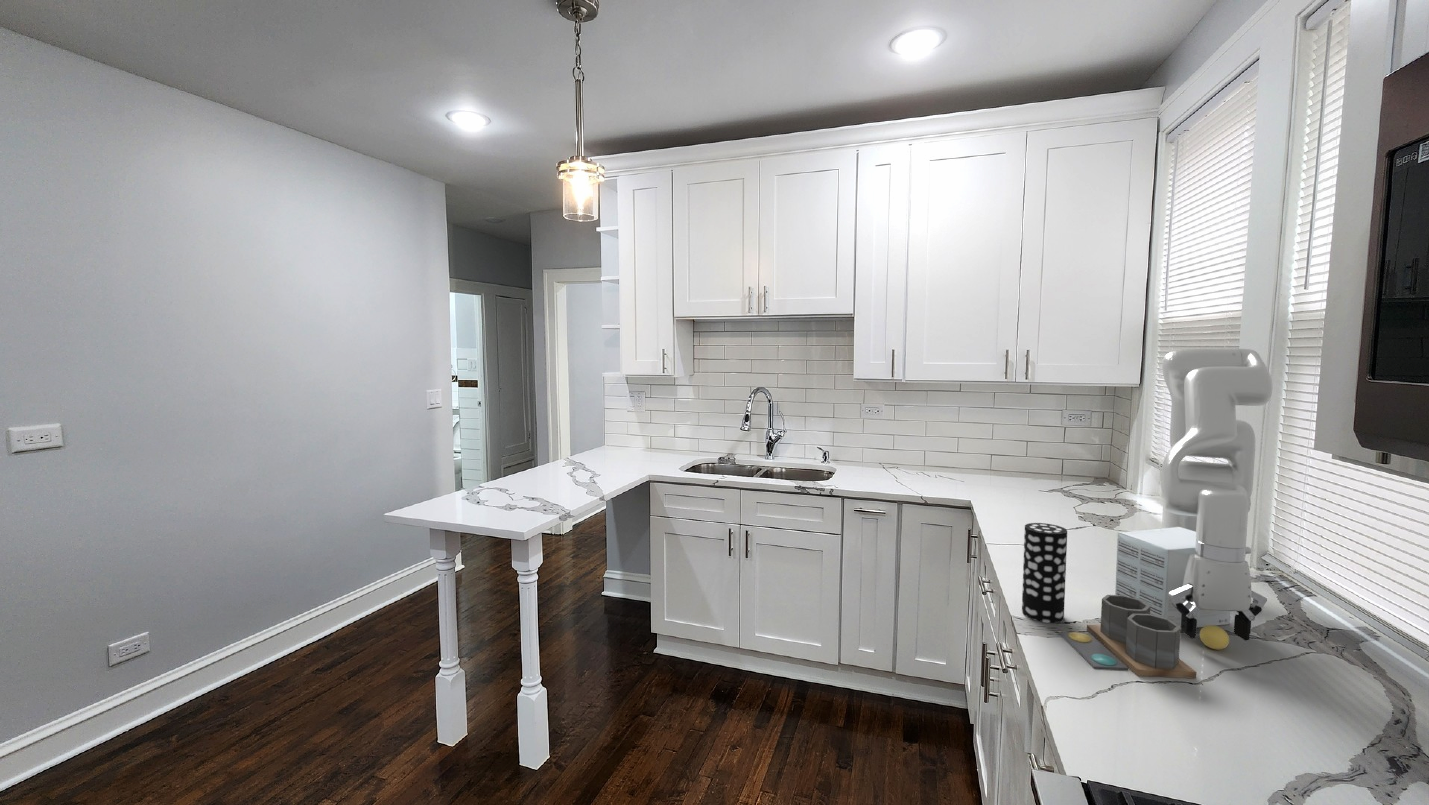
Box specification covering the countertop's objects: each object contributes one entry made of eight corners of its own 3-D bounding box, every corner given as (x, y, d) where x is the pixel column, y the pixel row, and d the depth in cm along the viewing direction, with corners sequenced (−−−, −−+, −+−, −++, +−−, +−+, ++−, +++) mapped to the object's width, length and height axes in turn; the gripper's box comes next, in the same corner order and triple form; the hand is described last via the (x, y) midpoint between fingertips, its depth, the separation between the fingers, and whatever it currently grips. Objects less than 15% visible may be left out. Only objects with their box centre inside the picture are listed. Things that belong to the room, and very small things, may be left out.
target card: (1089, 634, 125) (1089, 631, 125) (1128, 669, 111) (1128, 666, 111) (1058, 633, 125) (1059, 630, 125) (1094, 668, 111) (1094, 665, 111)
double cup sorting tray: (1136, 631, 126) (1138, 594, 125) (1196, 678, 108) (1198, 634, 107) (1086, 630, 127) (1088, 592, 126) (1137, 675, 109) (1139, 632, 108)
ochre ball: (1217, 643, 120) (1218, 621, 120) (1234, 654, 116) (1235, 632, 116) (1193, 642, 121) (1194, 620, 121) (1209, 653, 116) (1210, 631, 116)
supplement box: (1174, 600, 141) (1179, 525, 140) (1232, 625, 128) (1237, 543, 127) (1111, 606, 138) (1115, 530, 137) (1163, 632, 125) (1168, 549, 124)
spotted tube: (1059, 609, 137) (1062, 524, 135) (1067, 625, 129) (1071, 535, 127) (1019, 604, 139) (1021, 521, 138) (1025, 620, 132) (1028, 532, 130)
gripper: (1252, 547, 120) (1247, 629, 121) (1160, 544, 121) (1156, 626, 123) (1284, 559, 112) (1278, 647, 113) (1185, 556, 114) (1180, 643, 115)
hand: (1214, 636), depth 118 cm, fingers open, 9 cm apart
